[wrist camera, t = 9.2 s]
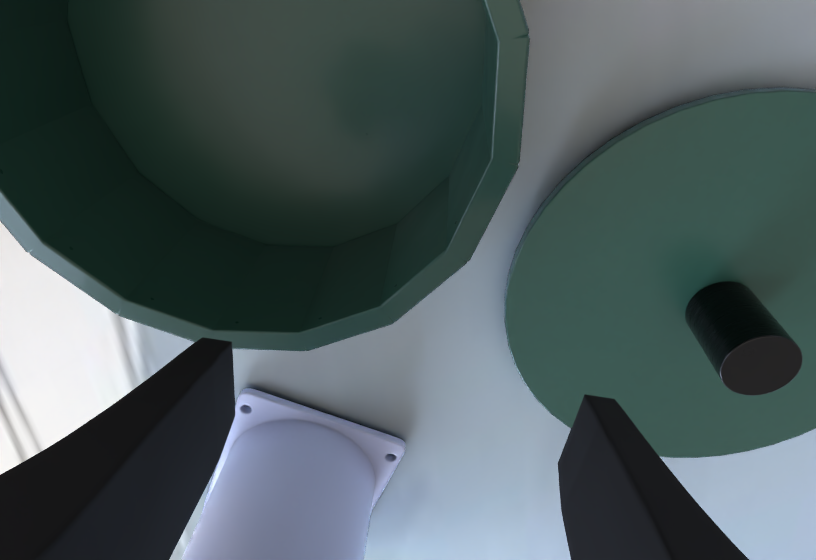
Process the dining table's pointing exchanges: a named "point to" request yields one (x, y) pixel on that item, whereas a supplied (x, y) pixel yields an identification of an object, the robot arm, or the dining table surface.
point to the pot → (258, 155)
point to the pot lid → (680, 277)
